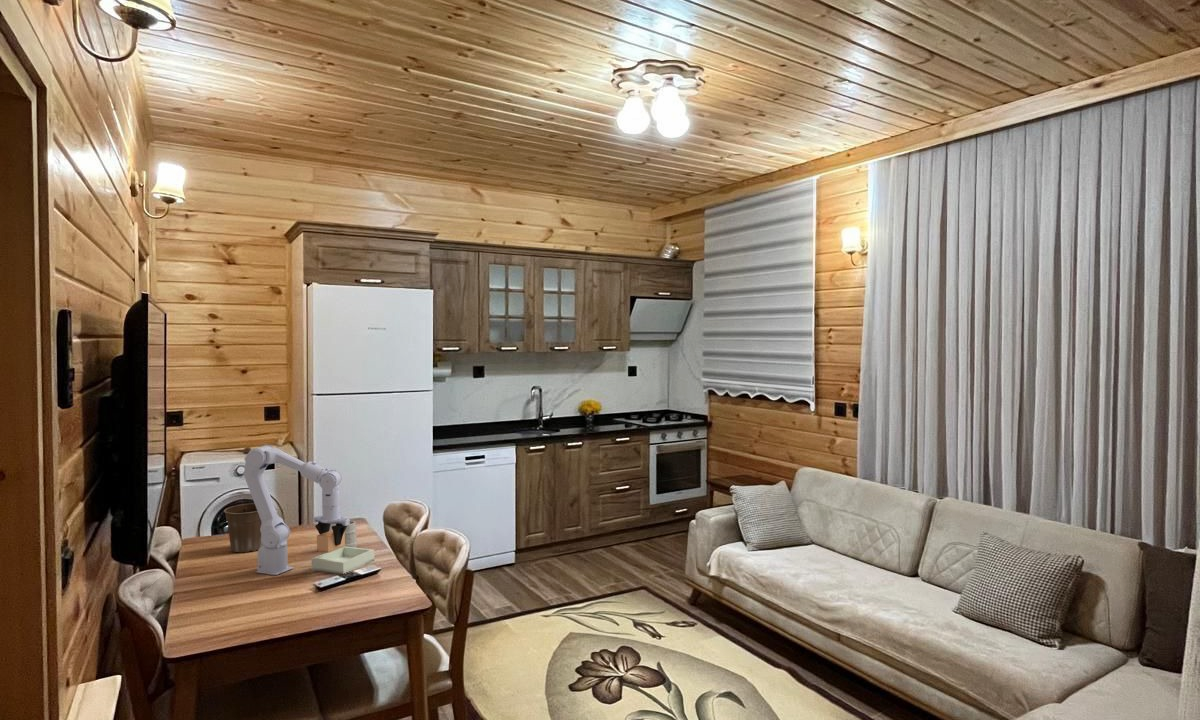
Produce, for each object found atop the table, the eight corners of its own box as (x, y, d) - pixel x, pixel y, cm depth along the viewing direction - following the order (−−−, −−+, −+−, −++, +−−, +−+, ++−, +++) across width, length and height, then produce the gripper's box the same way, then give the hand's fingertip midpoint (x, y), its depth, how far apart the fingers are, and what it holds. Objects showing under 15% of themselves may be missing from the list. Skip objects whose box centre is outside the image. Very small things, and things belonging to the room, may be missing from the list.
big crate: (311, 570, 238) (311, 558, 238) (343, 556, 253) (343, 546, 253) (343, 574, 233) (343, 562, 233) (374, 560, 248) (374, 549, 248)
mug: (360, 548, 264) (359, 517, 264) (328, 554, 257) (327, 522, 257) (354, 544, 270) (354, 514, 270) (323, 549, 263) (323, 518, 263)
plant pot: (258, 555, 256) (257, 512, 256) (215, 555, 257) (215, 512, 256) (278, 542, 273) (278, 502, 272) (239, 542, 273) (238, 503, 273)
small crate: (317, 551, 235) (316, 535, 235) (333, 545, 242) (333, 529, 242) (328, 552, 233) (328, 536, 233) (344, 546, 241) (344, 530, 241)
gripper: (306, 506, 237) (307, 545, 237) (339, 509, 232) (339, 549, 232) (321, 502, 243) (322, 539, 244) (353, 505, 238) (354, 543, 238)
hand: (331, 544), depth 238 cm, fingers closed on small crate, 5 cm apart
